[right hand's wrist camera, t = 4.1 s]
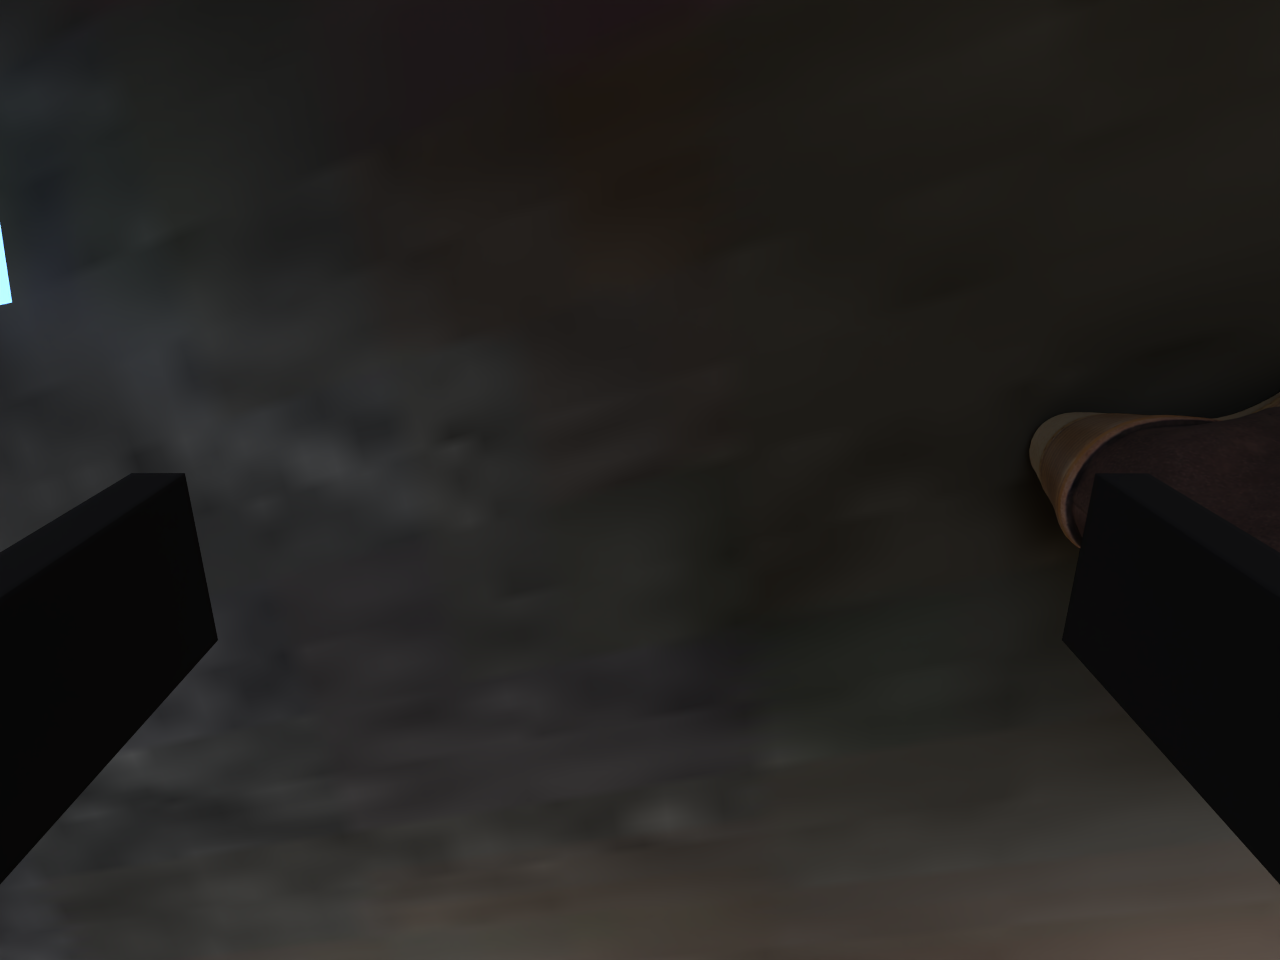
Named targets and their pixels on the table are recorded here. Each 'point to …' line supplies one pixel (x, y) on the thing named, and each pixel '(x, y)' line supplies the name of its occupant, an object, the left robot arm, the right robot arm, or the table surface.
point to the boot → (1167, 462)
